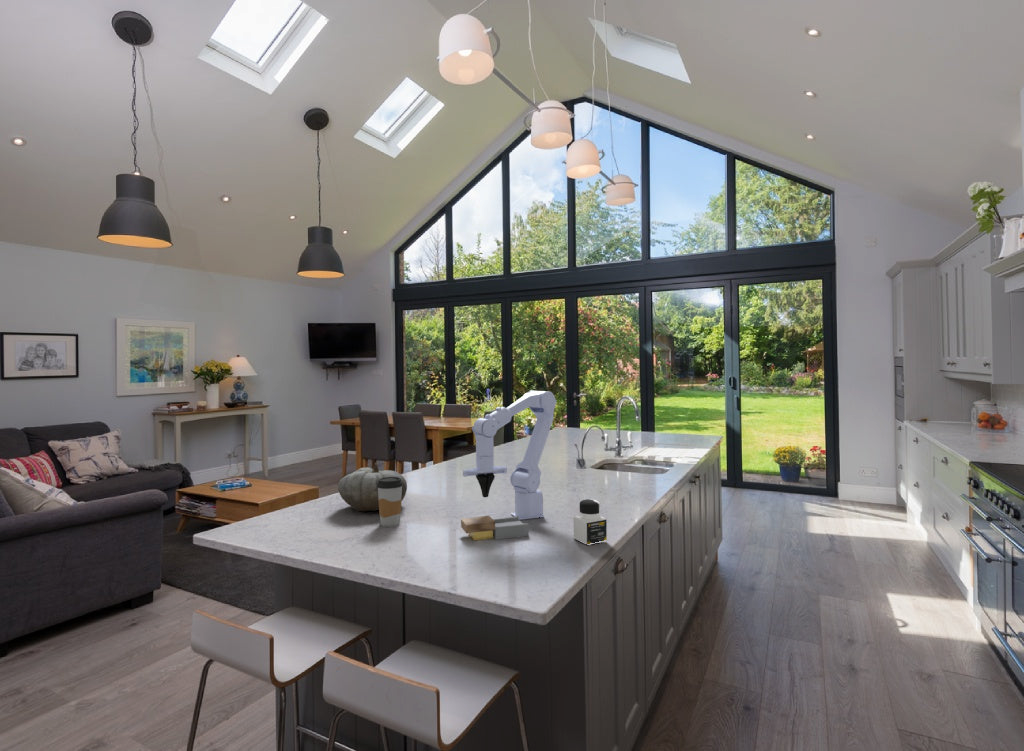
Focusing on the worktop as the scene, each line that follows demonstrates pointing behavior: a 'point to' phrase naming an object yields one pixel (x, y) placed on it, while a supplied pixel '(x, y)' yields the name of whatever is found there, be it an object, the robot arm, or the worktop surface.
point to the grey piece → (510, 528)
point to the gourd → (365, 487)
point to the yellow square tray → (481, 535)
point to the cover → (477, 524)
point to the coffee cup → (390, 500)
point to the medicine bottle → (590, 523)
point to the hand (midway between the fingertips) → (485, 496)
